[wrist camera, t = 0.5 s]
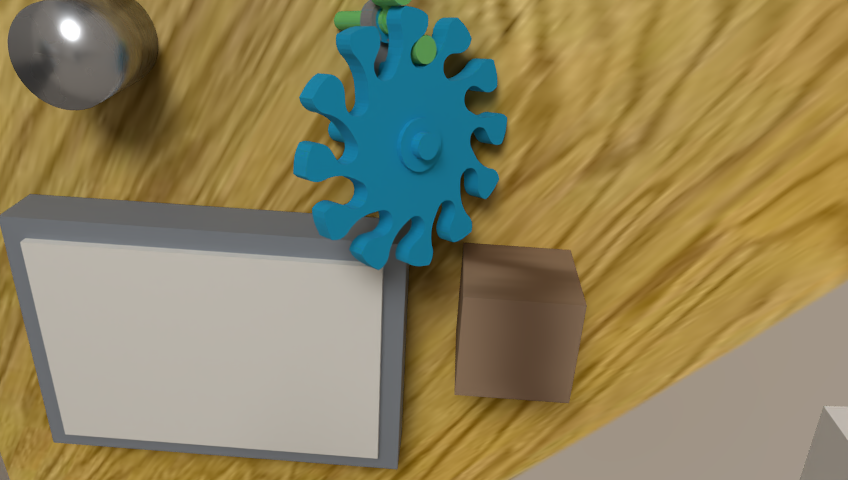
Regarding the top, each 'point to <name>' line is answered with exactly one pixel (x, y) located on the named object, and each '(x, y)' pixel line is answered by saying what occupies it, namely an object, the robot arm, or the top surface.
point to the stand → (210, 330)
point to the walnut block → (518, 323)
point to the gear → (400, 132)
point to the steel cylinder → (81, 49)
